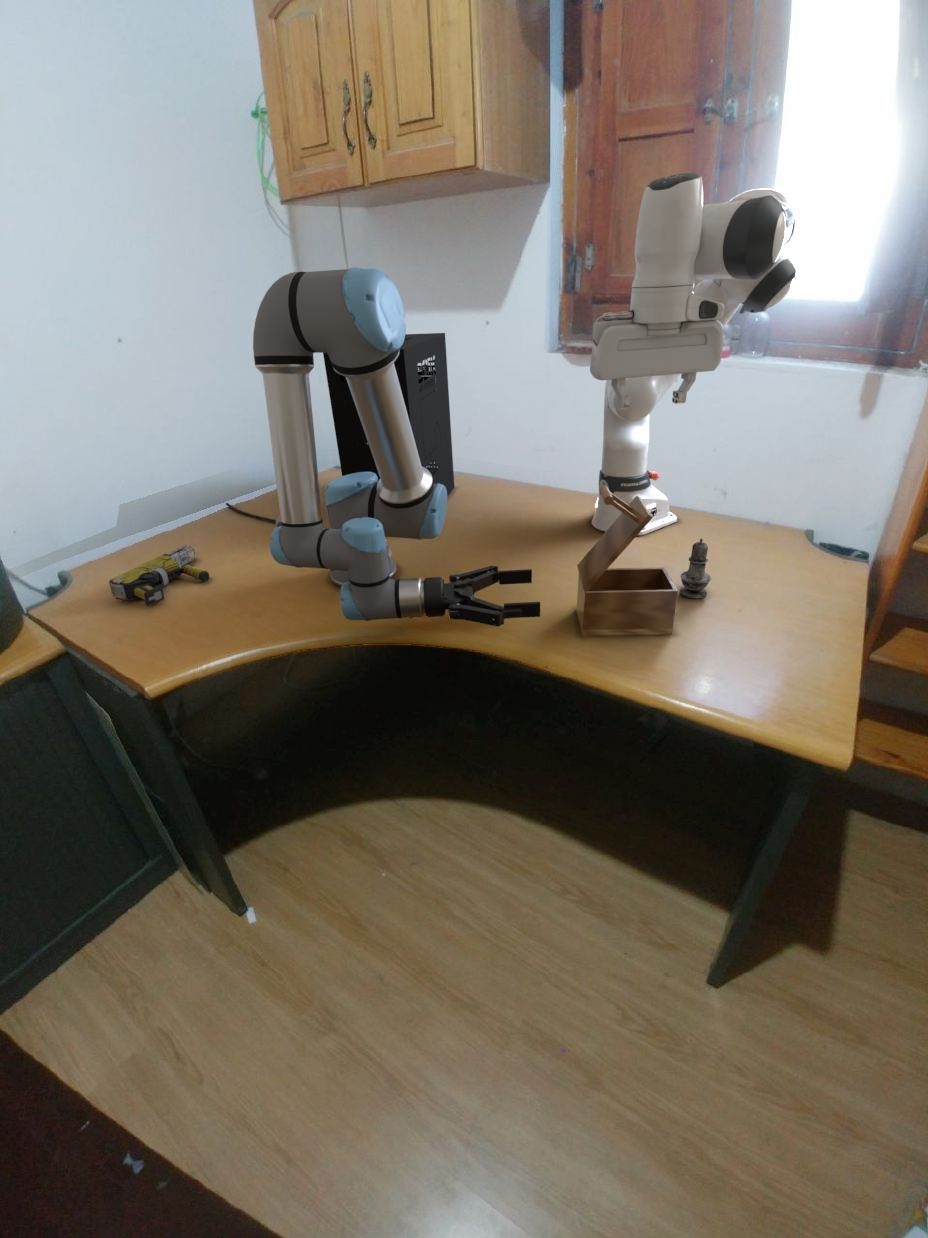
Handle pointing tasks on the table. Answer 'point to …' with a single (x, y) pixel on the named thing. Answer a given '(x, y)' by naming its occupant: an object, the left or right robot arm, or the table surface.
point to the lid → (613, 537)
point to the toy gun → (155, 576)
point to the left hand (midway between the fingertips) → (535, 591)
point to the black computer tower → (421, 404)
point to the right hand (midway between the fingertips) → (651, 405)
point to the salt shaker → (696, 572)
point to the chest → (628, 603)
